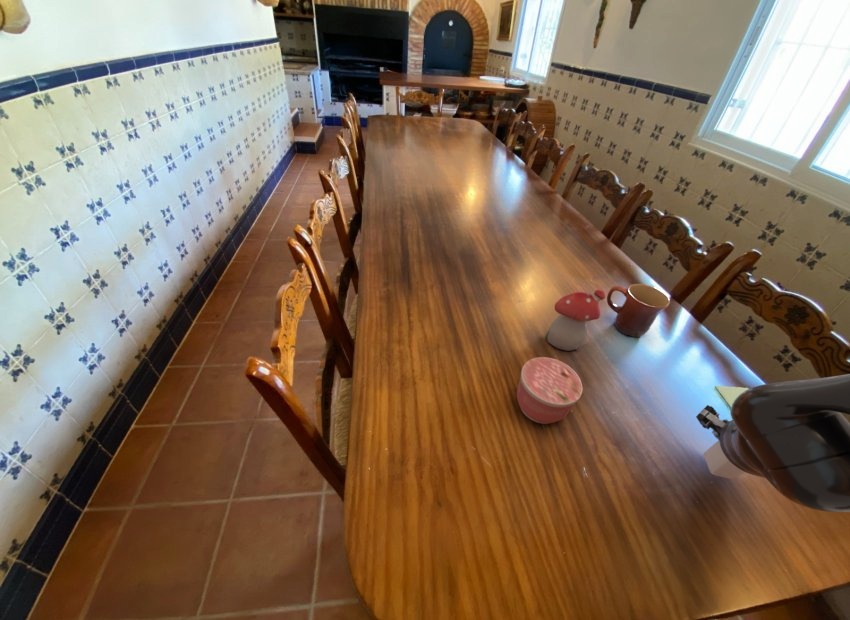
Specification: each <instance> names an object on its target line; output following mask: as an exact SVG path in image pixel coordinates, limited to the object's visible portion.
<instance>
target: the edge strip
mask: <svg viewBox="0 0 850 620" xmlns="http://www.w3.org/2000/svg"><path fill="white" fill-rule="evenodd" d="M714 387H715V389H716V390H717V391H718V394H719V395H720V396H721V397H722V398H723V400H724V401H725V402H726V404H727V405H728V407H729V408H730V409H731V407H732V404H733V402H734V401H735V399H736V398H737V397H738V396H739V395H740V394H741V393H743V392H744V391H746V390H748V389H750V388H749V387H740V386H739V387H738V386H723V385H714Z"/></svg>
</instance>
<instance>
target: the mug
mask: <svg viewBox="0 0 850 620" xmlns="http://www.w3.org/2000/svg"><path fill="white" fill-rule="evenodd" d="M615 291H617V292H620V293H621V294H622V295H623V296H624V297H625V300H624V302H623V304H622V305H620V306H619V305H617V304H615V303H614V302H613V300H612V298H613V297H612V296H613V293H615ZM606 303H607V305H608V307H609V308H610V309H611V310H612V311H613V312H614V313H616V316H615V319H614V325H615V327H616V328H617V330H619V332H621V333H622V334H624V335H627V336H629V337H632V338H633V337H636V338H638V337H643V336H645V334H647V333H648V331H649V330H650V329H651V327H652V325H653V324H654V322H655V321H656V319H657V317H658V315H659V314H660V313H662V311H664V310H665V309H666V308H667V307H669V305H670V304H671V300H670V298H669V296H668V295H667V294H666V293H665V292H663V291H662V290H660V289H659V288H657V287H654V286H652V285H649V284H644V283H633V284H630V285H629V286H628V287H624V286H621V285H615V286H612V287H610V289H609V291H608V292H607V295H606Z"/></svg>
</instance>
